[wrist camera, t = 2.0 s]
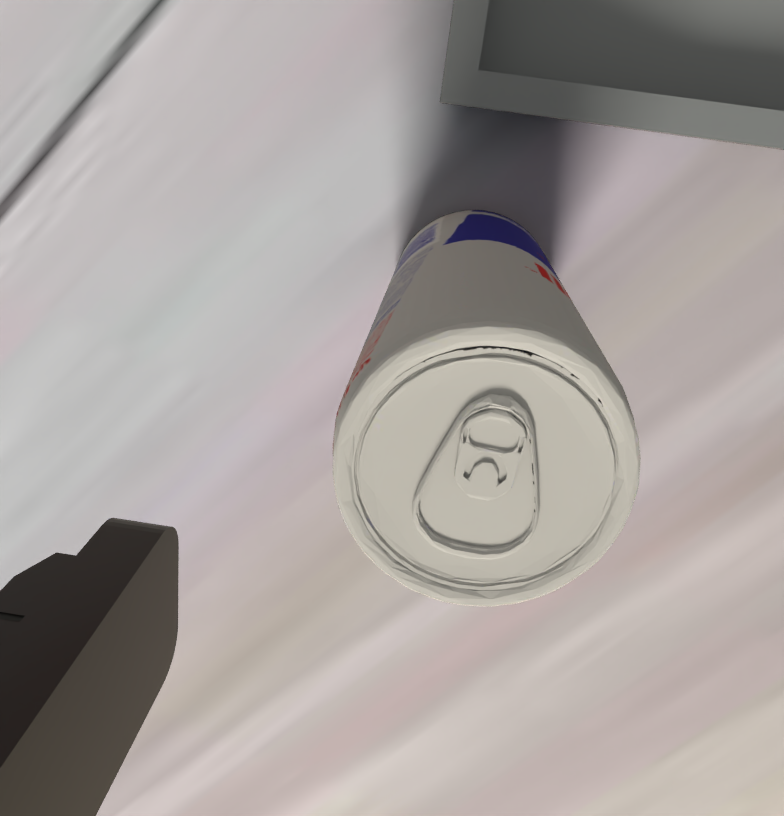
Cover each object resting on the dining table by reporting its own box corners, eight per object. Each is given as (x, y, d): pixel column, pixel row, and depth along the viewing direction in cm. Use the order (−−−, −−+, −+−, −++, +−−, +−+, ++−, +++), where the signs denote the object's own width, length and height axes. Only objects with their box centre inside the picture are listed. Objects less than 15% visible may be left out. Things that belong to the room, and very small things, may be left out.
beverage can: (435, 382, 28) (410, 652, 14) (368, 252, 26) (262, 410, 12) (572, 321, 26) (696, 554, 12) (511, 179, 25) (575, 265, 11)
